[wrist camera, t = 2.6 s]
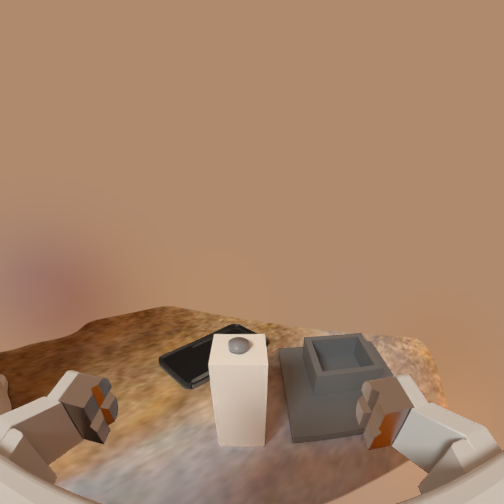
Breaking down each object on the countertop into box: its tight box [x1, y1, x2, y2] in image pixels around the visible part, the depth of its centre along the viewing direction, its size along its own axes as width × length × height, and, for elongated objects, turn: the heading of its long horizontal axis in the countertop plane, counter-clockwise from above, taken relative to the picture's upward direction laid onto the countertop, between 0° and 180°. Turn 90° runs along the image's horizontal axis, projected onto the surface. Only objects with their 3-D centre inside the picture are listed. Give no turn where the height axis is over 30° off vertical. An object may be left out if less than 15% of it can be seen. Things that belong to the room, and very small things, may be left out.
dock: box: [279, 333, 393, 443], centre depth 30 cm, size 14×16×4 cm
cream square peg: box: [208, 334, 268, 447], centre depth 23 cm, size 4×4×12 cm
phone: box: [159, 324, 268, 389], centre depth 38 cm, size 8×1×15 cm
